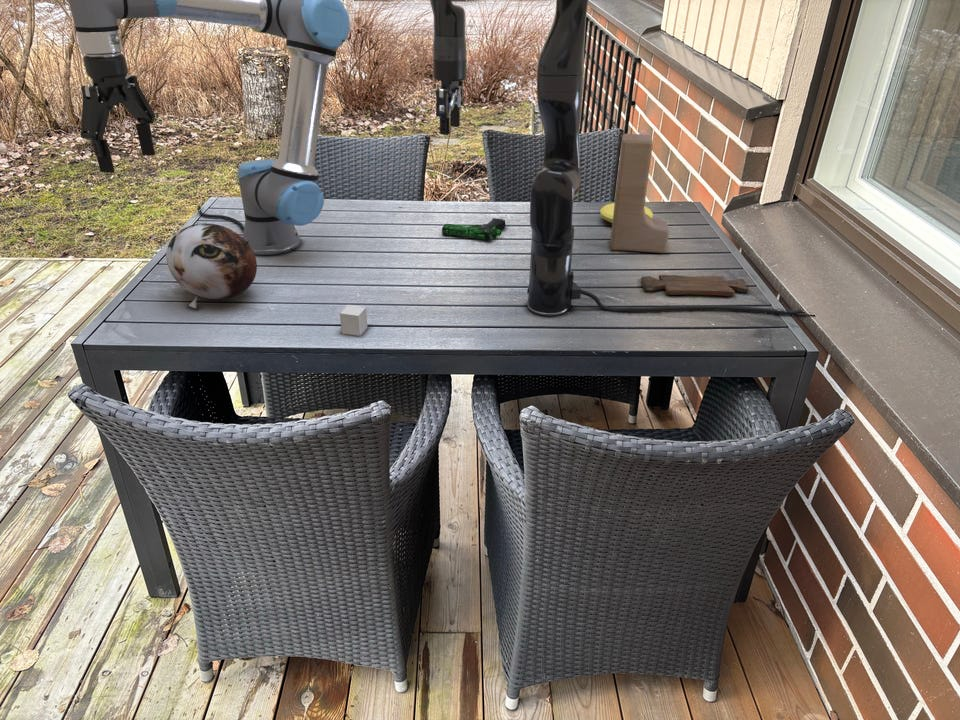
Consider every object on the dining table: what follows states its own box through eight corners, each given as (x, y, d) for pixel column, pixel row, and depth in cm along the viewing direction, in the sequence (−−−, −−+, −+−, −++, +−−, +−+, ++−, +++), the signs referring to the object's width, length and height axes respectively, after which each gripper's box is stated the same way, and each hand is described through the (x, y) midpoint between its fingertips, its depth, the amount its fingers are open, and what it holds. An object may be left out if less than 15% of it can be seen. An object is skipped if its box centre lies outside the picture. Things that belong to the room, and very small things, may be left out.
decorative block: (666, 254, 195) (683, 142, 180) (610, 250, 197) (623, 139, 181) (663, 244, 201) (680, 135, 186) (610, 240, 203) (622, 132, 188)
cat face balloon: (130, 285, 161) (164, 203, 163) (192, 308, 177) (221, 233, 178) (195, 307, 151) (229, 220, 152) (254, 330, 166) (285, 250, 168)
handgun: (511, 219, 210) (493, 234, 198) (511, 228, 211) (492, 244, 199) (461, 212, 215) (440, 226, 203) (461, 221, 217) (440, 236, 204)
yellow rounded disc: (613, 210, 226) (616, 188, 222) (660, 220, 218) (663, 198, 214) (589, 223, 215) (592, 200, 211) (638, 235, 207) (641, 211, 203)
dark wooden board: (752, 298, 172) (740, 281, 181) (754, 292, 171) (742, 275, 180) (645, 295, 172) (638, 278, 181) (646, 288, 172) (639, 271, 180)
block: (341, 333, 154) (339, 313, 152) (349, 324, 158) (347, 304, 155) (360, 336, 153) (358, 315, 151) (367, 327, 157) (366, 307, 154)
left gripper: (75, 64, 128) (105, 181, 139) (158, 46, 149) (179, 149, 160) (39, 62, 130) (71, 178, 141) (127, 45, 151) (149, 147, 161)
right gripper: (457, 62, 154) (457, 138, 163) (473, 53, 166) (473, 125, 174) (423, 60, 156) (425, 136, 164) (442, 51, 168) (443, 122, 176)
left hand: (129, 163), depth 150 cm, fingers open, 13 cm apart
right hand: (450, 130), depth 169 cm, fingers open, 8 cm apart
